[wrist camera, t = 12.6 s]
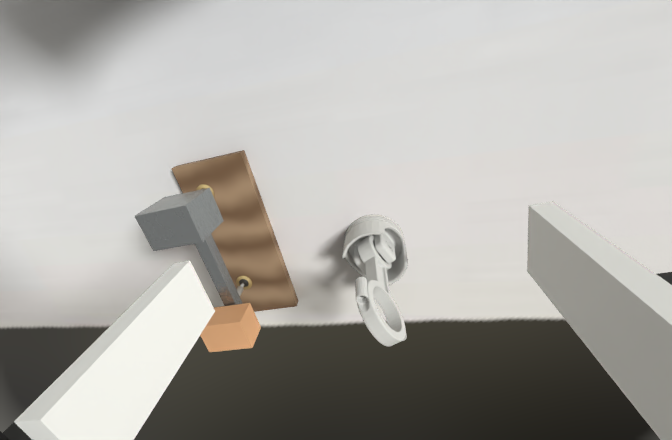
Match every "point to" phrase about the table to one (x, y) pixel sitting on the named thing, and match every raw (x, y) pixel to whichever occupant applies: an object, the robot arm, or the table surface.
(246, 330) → the block
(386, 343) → the engine component
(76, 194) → the table surface
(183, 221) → the grey piece
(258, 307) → the hole plate
